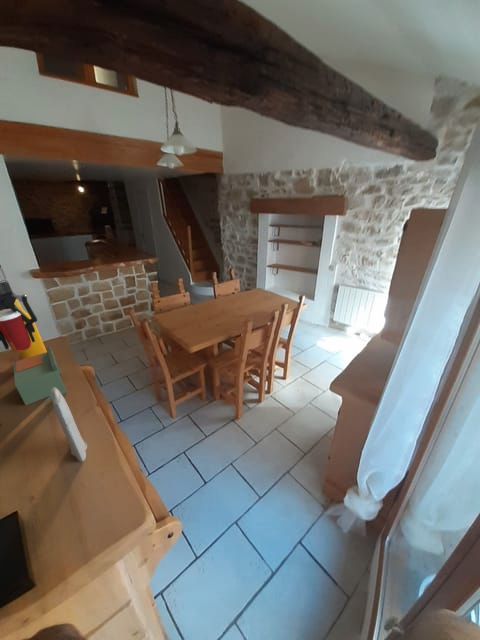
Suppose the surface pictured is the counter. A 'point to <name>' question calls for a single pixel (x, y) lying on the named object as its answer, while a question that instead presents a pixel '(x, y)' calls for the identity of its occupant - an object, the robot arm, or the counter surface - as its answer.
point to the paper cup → (14, 330)
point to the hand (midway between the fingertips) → (20, 343)
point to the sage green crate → (38, 377)
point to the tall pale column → (68, 425)
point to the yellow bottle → (37, 345)
